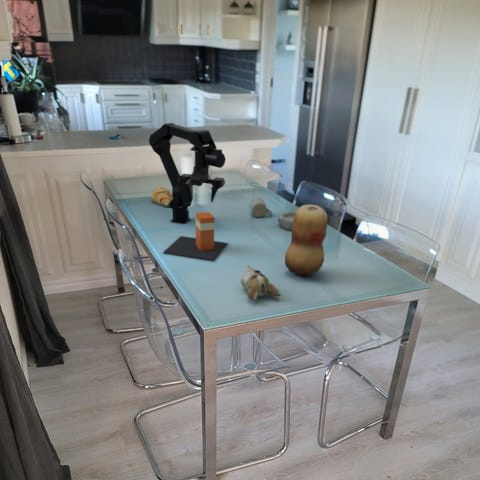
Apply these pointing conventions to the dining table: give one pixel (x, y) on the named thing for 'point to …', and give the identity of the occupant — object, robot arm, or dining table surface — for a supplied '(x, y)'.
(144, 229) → the dining table surface
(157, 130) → the robot arm
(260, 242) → the dining table surface
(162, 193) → the croissant
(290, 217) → the dish
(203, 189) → the dining table surface
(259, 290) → the ceramic sculpture
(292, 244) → the butternut squash
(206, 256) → the mat
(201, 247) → the packet
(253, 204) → the ceramic mug
